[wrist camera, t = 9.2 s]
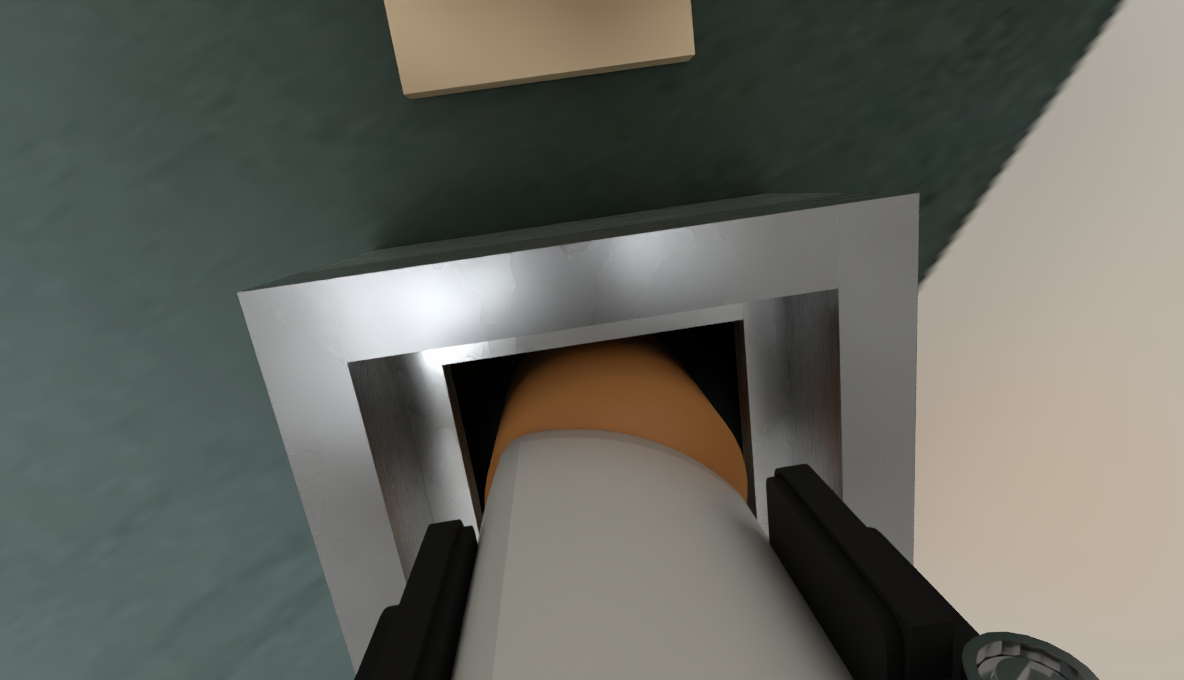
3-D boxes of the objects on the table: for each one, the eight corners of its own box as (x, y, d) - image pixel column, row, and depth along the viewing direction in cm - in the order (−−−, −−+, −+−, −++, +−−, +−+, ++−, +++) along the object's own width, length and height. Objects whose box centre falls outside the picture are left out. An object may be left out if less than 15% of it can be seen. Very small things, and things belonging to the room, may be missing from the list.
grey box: (374, 250, 17) (237, 292, 9) (770, 192, 17) (929, 191, 10) (454, 585, 20) (397, 809, 13) (787, 530, 20) (919, 717, 13)
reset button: (489, 335, 17) (460, 399, 12) (681, 306, 17) (738, 356, 12) (522, 506, 19) (510, 631, 13) (698, 478, 19) (755, 590, 13)
